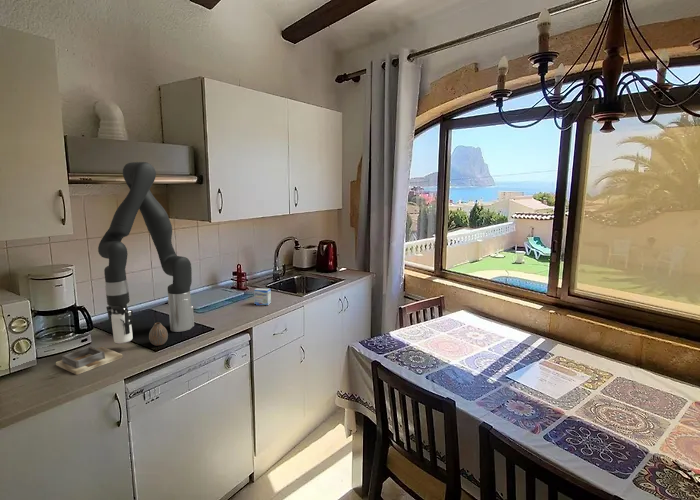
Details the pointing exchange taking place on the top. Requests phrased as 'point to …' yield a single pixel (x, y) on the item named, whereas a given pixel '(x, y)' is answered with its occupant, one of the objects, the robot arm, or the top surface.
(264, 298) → the medicine box
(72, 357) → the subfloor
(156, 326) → the vase
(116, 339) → the can
